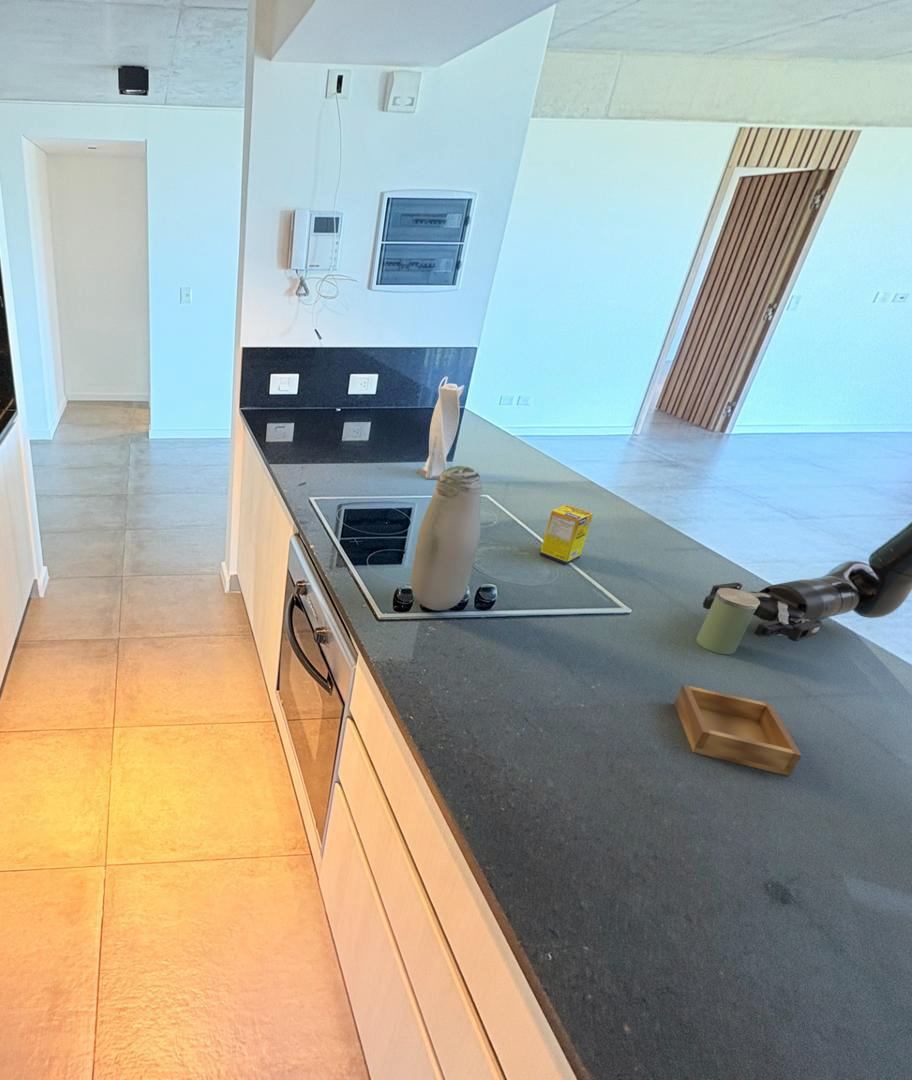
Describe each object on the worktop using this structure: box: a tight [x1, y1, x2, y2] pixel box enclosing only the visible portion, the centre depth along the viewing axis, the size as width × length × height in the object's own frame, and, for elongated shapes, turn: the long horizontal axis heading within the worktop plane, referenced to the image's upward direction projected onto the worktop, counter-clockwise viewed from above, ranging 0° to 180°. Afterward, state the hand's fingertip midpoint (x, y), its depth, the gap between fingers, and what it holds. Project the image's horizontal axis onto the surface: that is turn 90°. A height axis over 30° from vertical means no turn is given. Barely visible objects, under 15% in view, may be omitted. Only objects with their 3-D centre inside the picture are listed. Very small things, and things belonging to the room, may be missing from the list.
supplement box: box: [539, 504, 594, 566], centre depth 134 cm, size 6×6×11 cm
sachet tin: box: [695, 588, 760, 656], centre depth 105 cm, size 6×6×10 cm
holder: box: [673, 684, 802, 777], centre depth 87 cm, size 11×11×4 cm
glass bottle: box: [410, 465, 483, 611], centre depth 112 cm, size 10×10×28 cm
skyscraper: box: [416, 375, 465, 481], centre depth 176 cm, size 8×8×28 cm
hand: (731, 616), depth 104 cm, fingers open, 8 cm apart
